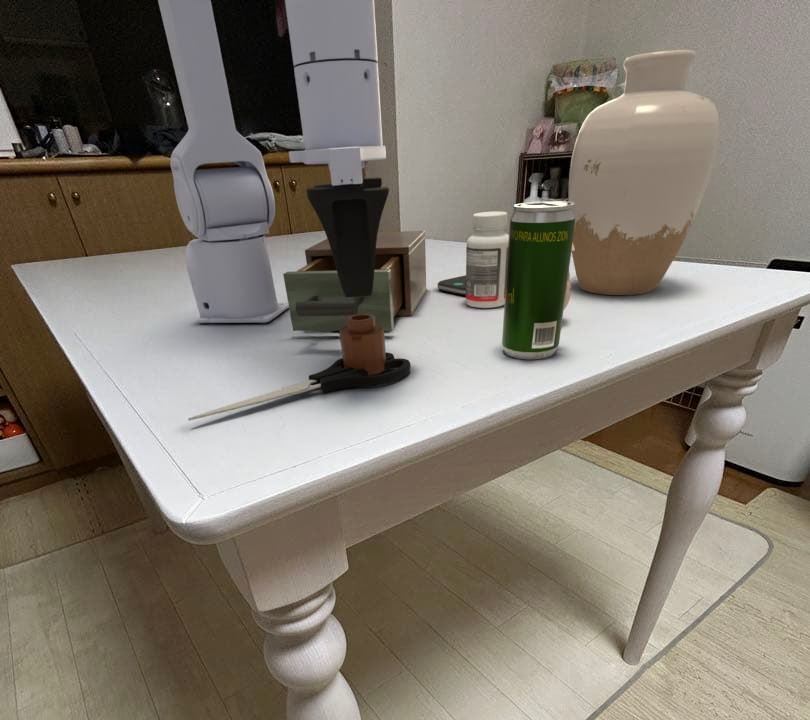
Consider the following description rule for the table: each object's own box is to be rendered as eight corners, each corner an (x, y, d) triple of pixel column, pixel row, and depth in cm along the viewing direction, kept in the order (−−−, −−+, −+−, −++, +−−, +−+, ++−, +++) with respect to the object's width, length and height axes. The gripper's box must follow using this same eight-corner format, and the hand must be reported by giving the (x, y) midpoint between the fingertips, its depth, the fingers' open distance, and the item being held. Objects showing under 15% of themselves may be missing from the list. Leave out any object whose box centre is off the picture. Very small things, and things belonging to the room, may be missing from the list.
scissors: (207, 441, 37) (422, 372, 46) (204, 430, 36) (422, 363, 46) (177, 414, 41) (379, 356, 50) (174, 403, 41) (378, 347, 50)
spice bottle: (340, 375, 46) (333, 323, 43) (350, 361, 49) (345, 311, 46) (381, 376, 45) (377, 323, 43) (389, 361, 48) (386, 311, 46)
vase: (690, 279, 70) (751, 51, 56) (668, 306, 60) (736, 35, 46) (576, 272, 77) (605, 68, 63) (538, 295, 67) (563, 58, 53)
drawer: (383, 344, 51) (378, 281, 48) (277, 344, 53) (265, 283, 49) (410, 302, 64) (408, 250, 61) (325, 303, 66) (318, 253, 63)
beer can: (569, 353, 49) (592, 203, 41) (523, 364, 47) (537, 209, 40) (534, 339, 52) (549, 199, 45) (490, 349, 51) (498, 205, 43)
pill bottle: (485, 296, 68) (489, 209, 62) (516, 302, 65) (523, 211, 59) (456, 304, 66) (457, 214, 60) (487, 311, 62) (491, 216, 56)
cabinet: (411, 316, 62) (408, 246, 58) (314, 316, 64) (304, 249, 60) (426, 290, 73) (425, 230, 68) (342, 292, 75) (335, 233, 70)
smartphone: (432, 282, 72) (507, 265, 79) (432, 288, 73) (507, 272, 80) (469, 289, 67) (546, 271, 74) (469, 297, 68) (545, 278, 75)
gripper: (286, 81, 40) (314, 272, 49) (263, 53, 29) (304, 310, 37) (375, 76, 41) (387, 267, 49) (387, 46, 29) (400, 302, 37)
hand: (357, 285), depth 43 cm, fingers open, 7 cm apart
